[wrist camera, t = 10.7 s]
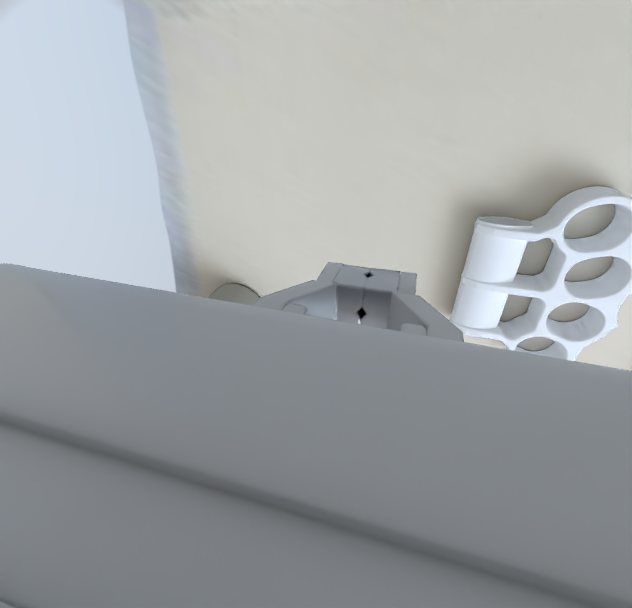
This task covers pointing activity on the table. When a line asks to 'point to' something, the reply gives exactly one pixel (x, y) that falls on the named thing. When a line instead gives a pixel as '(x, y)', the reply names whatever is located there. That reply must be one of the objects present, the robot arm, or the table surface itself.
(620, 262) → the knuckle duster
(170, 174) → the table surface
